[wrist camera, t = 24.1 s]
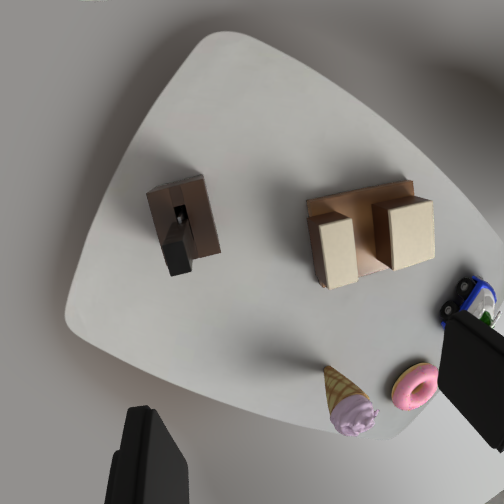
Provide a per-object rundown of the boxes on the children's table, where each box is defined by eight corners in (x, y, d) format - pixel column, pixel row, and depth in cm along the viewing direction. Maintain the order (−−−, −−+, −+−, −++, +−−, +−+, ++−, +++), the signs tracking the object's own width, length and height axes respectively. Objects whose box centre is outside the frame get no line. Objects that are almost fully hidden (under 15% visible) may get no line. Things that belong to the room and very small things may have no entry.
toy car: (486, 288, 52) (517, 307, 43) (453, 338, 54) (481, 362, 45) (467, 266, 49) (502, 285, 40) (431, 321, 51) (462, 347, 42)
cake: (370, 203, 41) (390, 210, 36) (411, 194, 42) (432, 200, 37) (376, 259, 44) (394, 271, 39) (414, 247, 44) (434, 257, 40)
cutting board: (306, 200, 41) (309, 201, 40) (407, 179, 43) (413, 180, 41) (319, 284, 45) (322, 288, 44) (412, 256, 46) (417, 259, 45)
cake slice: (306, 217, 40) (320, 226, 36) (335, 210, 41) (352, 218, 36) (315, 275, 43) (329, 290, 38) (342, 267, 43) (358, 281, 39)
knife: (178, 204, 39) (159, 241, 22) (190, 200, 39) (181, 236, 22) (184, 227, 40) (171, 280, 23) (196, 223, 40) (193, 275, 23)
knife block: (155, 186, 38) (146, 193, 31) (203, 174, 39) (203, 178, 32) (172, 248, 41) (166, 266, 34) (218, 236, 41) (221, 252, 34)
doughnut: (378, 391, 54) (387, 405, 50) (419, 349, 53) (431, 361, 49) (403, 408, 57) (412, 420, 53) (440, 370, 56) (451, 381, 52)
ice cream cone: (353, 355, 50) (395, 414, 36) (339, 384, 52) (374, 445, 37) (317, 352, 49) (354, 417, 34) (304, 383, 50) (334, 449, 36)
